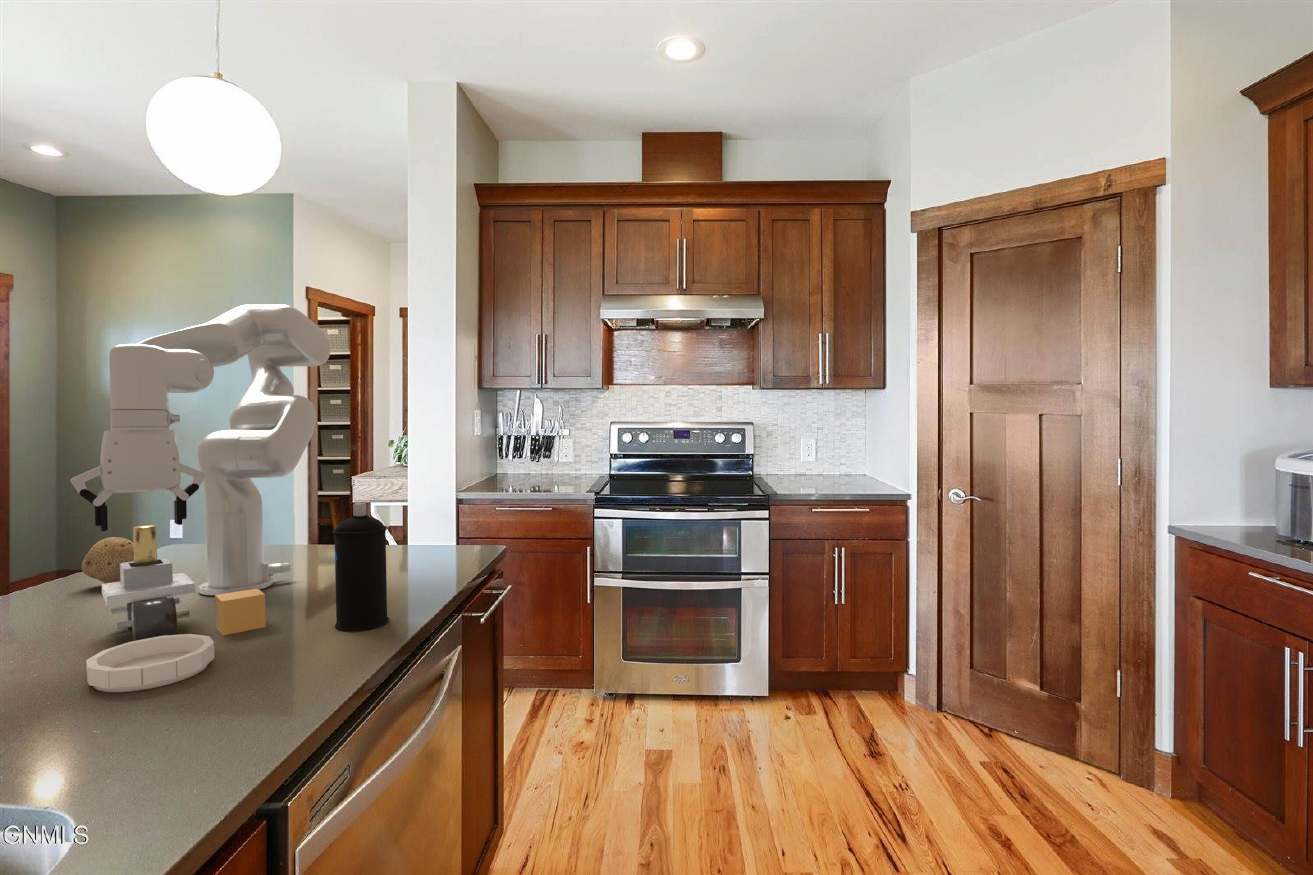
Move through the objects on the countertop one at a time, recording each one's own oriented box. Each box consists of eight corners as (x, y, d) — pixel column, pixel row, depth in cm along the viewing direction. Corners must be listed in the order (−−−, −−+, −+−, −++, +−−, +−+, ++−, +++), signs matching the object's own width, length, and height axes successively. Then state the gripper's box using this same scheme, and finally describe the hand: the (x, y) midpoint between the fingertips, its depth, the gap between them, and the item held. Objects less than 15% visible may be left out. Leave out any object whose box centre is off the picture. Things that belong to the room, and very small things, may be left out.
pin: (156, 578, 111) (155, 524, 111) (159, 581, 109) (157, 526, 109) (134, 581, 109) (132, 526, 109) (136, 584, 107) (134, 528, 106)
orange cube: (258, 620, 113) (257, 588, 112) (265, 627, 109) (264, 594, 109) (216, 628, 109) (215, 595, 108) (222, 636, 105) (221, 601, 105)
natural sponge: (77, 594, 129) (75, 543, 129) (89, 583, 137) (87, 535, 137) (136, 587, 134) (134, 538, 134) (144, 578, 142) (142, 531, 141)
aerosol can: (399, 618, 113) (397, 501, 112) (363, 634, 105) (361, 508, 104) (361, 614, 115) (358, 499, 115) (323, 629, 108) (319, 505, 107)
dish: (203, 648, 99) (202, 628, 99) (222, 673, 89) (221, 651, 89) (84, 672, 90) (83, 650, 90) (91, 703, 80) (90, 679, 80)
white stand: (183, 613, 117) (182, 553, 116) (200, 635, 105) (198, 569, 105) (102, 627, 109) (100, 563, 109) (110, 652, 97) (108, 581, 97)
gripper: (200, 421, 116) (201, 519, 117) (68, 421, 105) (70, 530, 105) (208, 421, 111) (210, 524, 111) (70, 421, 99) (72, 536, 99)
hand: (142, 527), depth 108 cm, fingers open, 9 cm apart
